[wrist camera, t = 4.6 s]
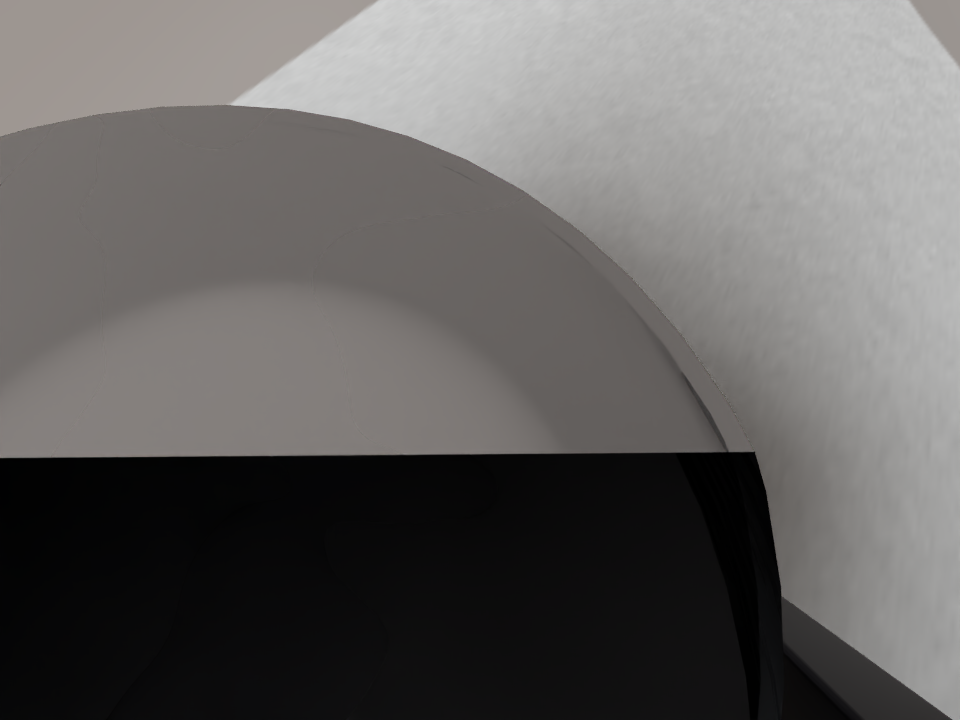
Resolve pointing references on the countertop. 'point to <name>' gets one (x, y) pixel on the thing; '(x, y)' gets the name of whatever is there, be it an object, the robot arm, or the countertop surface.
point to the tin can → (352, 444)
